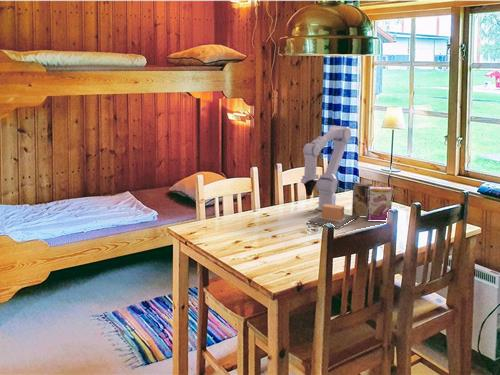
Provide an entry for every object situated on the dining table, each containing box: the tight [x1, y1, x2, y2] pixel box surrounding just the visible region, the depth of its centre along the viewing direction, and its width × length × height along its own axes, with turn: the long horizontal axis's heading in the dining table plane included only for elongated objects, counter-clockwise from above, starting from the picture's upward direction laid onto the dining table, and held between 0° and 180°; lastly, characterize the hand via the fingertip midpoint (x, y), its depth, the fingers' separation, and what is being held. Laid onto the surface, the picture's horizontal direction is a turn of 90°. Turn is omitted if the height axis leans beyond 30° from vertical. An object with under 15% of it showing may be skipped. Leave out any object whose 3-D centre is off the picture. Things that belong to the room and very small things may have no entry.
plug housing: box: [321, 204, 345, 221], centre depth 273 cm, size 5×10×6 cm, turn 63°
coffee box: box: [351, 182, 374, 216], centre depth 280 cm, size 9×6×16 cm
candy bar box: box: [365, 186, 394, 221], centre depth 272 cm, size 11×5×16 cm, turn 84°
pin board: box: [307, 213, 358, 229], centre depth 273 cm, size 20×16×5 cm
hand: (309, 195), depth 280 cm, fingers closed
